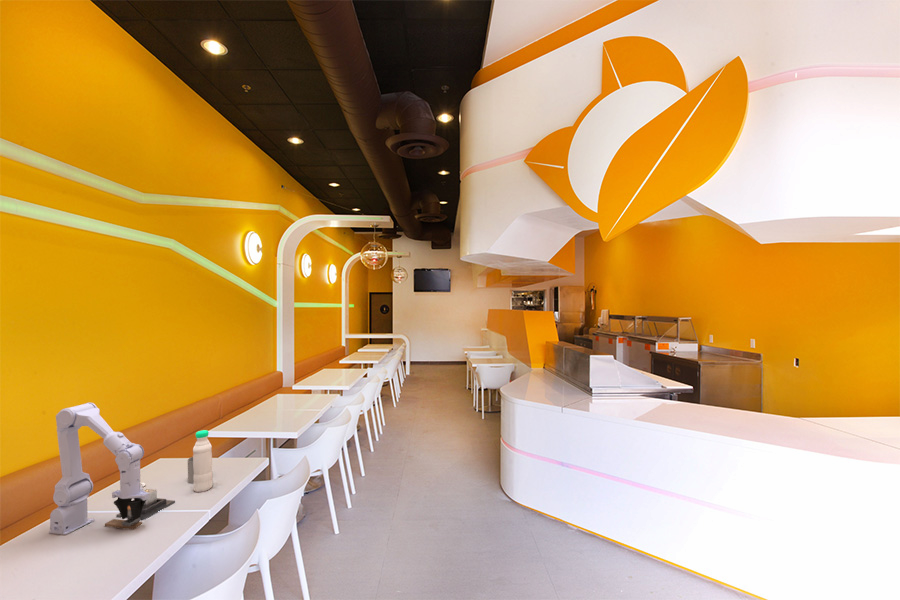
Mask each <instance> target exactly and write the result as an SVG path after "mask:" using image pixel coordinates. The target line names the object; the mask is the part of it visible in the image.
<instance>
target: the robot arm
mask: <svg viewBox="0 0 900 600" xmlns="http://www.w3.org/2000/svg"><path fill="white" fill-rule="evenodd" d="M100 414H101V413H100V408H98V406H97V405H96V404H95V403H94V402H86V403H83V404H80V405H79V404H78V405H75V406H71V407H66V408H62V409H61V410H60V411H59V412H58V413H56V415H55V421H56V422H55V423H56V433H57V444H58V451H59V458H60V459H59V460H60V468H61V475H62V476H61V478H60V479H59V481H58V482H56V484H55V485H54V493H53V497H52V499H53V502H54V503H55V504H56V505H57V507H56V508H55V509H53V510H52V511H51V512H50V515H49V525H50V527H49V528H50V529H49V531H48V534H54V535H55V534H56V535H68V534H71V533H72V532H74V531H76V530H78V529H80V528H81V527H84V526H86V525H88V524H90V523H92V522H94V521H95V519H94V518H88V498H89V497H90V494H91V493H92V491H93V490H94V483H93V481H92V479H91V477H90V476H91V475H90V474H89V473H87V472H84V471H83V465H82V455H81V454H82V453H81V447H80V438H79V429H81V428H82V427H88V428H89V429H90V430H92V431H93V432H94V433H96V435H97V434H98V436H99V437H101V438H102V439H103V441H102V442H103V443H102V444H103V445H104V446H105V447H106V448H107V449H108V450H109V452H111V453H112V454H113V455H114V456H115V458H114V461H115V464H116V465H117V467H118V468H117V469H118V470H119V483H120V484H119V490H115V491H113V492H111V498H112V499H115V498H117V499H116V500H113V504H114V505H115V507H116V508H117V510H118V512H119V513H120V514H121V517H122V518H121V517H120V518H121V520H126V519H128V518H127V506H128V505H129V506H130V508H131V511H132V518H133V520H136V519H138V518H140V515H141V511H142V508H143V506H144V503H145V502H146V500H147V499H149V498H150V493H148V492H145V491H144V488H143V487H142V485H140V483H141V459H143V457H144V455H145V450H144V447H143V446H142V445H141V444H138V443H135V442H131V441H130V440H129V439H128V438H127V437H126V436H125V435H124V433H123V432H121V431H114V430H113V429H112V427H111V426H110V425H109V424H108V423H107V421H106V420H105V419H104V418H103V417H102V416H101V415H100ZM141 487H142V488H141Z"/></svg>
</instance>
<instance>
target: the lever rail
mask: <svg viewBox="0 0 900 600" xmlns="http://www.w3.org/2000/svg"><path fill="white" fill-rule="evenodd" d="M125 520H126V519H118V518H117V519H116V518H112V519H111V520H109V521H107V522H105V523H104V527H108V528H116V529H126V530H135V529H137V528H139V527H141V526H142V525H143V521H141V520H140V521H139V522H137V523H135V524H134V525H132V526H122V522H123V521H125ZM141 524H142V525H141ZM140 525H141V526H140Z"/></svg>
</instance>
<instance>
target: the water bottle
mask: <svg viewBox="0 0 900 600" xmlns="http://www.w3.org/2000/svg"><path fill="white" fill-rule="evenodd" d="M209 433H210V432H209V430H208V429H207V430H206V429H202V430H199V431H196V432H195V438H196V441H195V444H194V446H193V448H192V453H193V454H192V457H193V470H194V477H193V479H194V484H193V491H194V492H196V493H201V492H205V491H208V490H210V489H212V487H213V453H212V452H213V451H212V448H213V446H212V444H211V442H210V440H209V438H208V437H209V435H210V434H209Z"/></svg>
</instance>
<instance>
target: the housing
mask: <svg viewBox="0 0 900 600" xmlns="http://www.w3.org/2000/svg"><path fill="white" fill-rule="evenodd" d="M143 491H145V492H148V493H150V498H149V499H147V500H146V502H145V503H144V506H143V508H142V509H146V508H148V507H150V506H152V505H154V504H155V503H157V498H158V494H157V493H158V490H157V489H152V488H146V489H143Z"/></svg>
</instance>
